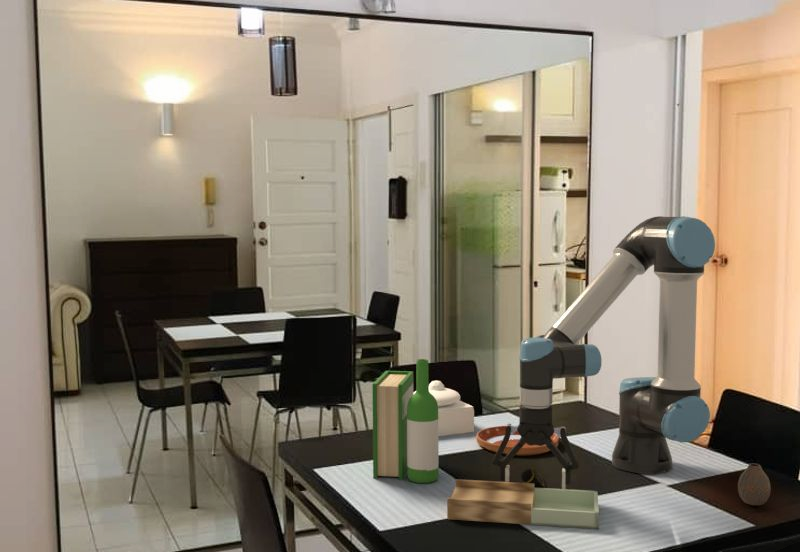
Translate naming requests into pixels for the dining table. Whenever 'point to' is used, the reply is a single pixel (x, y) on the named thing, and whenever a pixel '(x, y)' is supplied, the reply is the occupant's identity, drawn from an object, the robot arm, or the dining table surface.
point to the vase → (754, 485)
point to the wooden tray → (491, 501)
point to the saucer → (510, 442)
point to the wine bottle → (422, 430)
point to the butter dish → (451, 411)
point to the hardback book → (391, 423)
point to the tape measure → (533, 478)
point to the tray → (565, 508)
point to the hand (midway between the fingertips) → (535, 496)
